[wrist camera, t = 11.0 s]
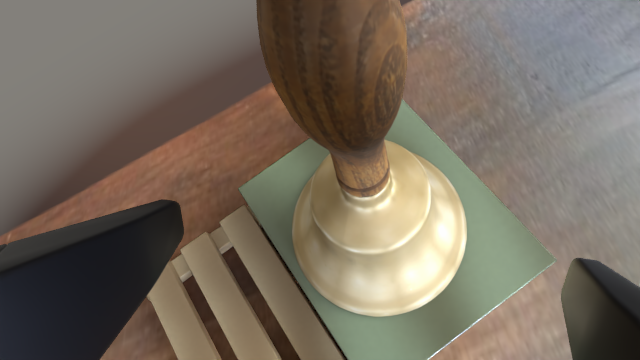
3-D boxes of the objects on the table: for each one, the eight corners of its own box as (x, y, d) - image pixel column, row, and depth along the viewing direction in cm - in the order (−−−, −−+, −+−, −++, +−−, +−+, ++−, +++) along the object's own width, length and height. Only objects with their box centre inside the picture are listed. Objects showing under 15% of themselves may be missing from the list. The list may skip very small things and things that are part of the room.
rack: (245, 491, 19) (216, 523, 16) (148, 284, 24) (110, 277, 21) (532, 271, 21) (558, 260, 17) (388, 114, 25) (386, 82, 22)
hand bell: (282, 307, 19) (-132, 228, 4) (301, 146, 21) (101, -254, 7) (468, 326, 17) (939, 301, 2) (463, 149, 20) (666, -370, 5)
